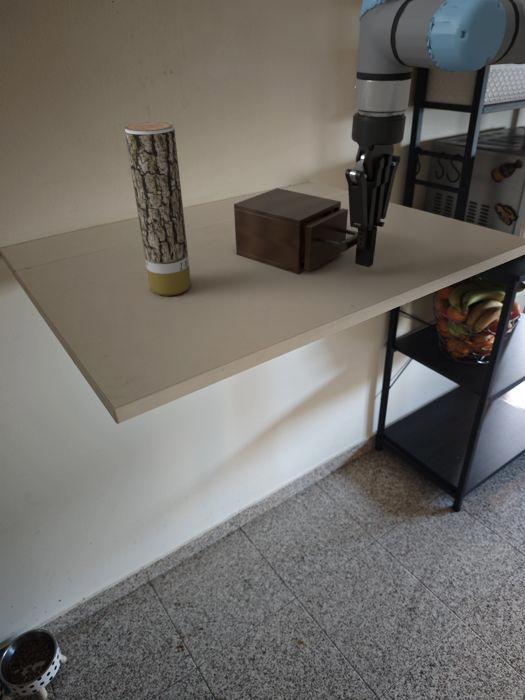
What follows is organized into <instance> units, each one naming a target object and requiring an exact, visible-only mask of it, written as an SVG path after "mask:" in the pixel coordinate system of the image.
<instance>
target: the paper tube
mask: <svg viewBox="0 0 525 700" xmlns="http://www.w3.org/2000/svg"><path fill="white" fill-rule="evenodd" d="M175 130H176V129H175V124H174V123H172V122H168V121H144V122H135V123H130V124H127V125H125V126H124V134H125V141H126V147H127V154H128V159H129V160H128V161H129V165H130V173H131V179H132V184H133V192H134V197H135V203H136V209H137V216H138V221H139V228H140V235H141V240H142V241H141V242H142V248H143V254H144V259H145V267H146V272H147V279H148V284H149V288H150V290H151V291H152V292H153V293H154V294H155V295H159V296H163V297H165V296H166V297H169V296H177V295H180V294H184V293H185V292H186V291H188V290H189V288H190V287H191V285H192V284H191V283H192V280H191V273H190V271H191V270H190V261H189V251H188V241H187V234H186V225H185V224H186V223H185V222H186V221H185V214H184V206H183V204H184V203H183V195H182V185H181V177H180V176H181V175H180V167H179V157H178V148H177V140H176V131H175Z"/></svg>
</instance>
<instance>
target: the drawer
mask: <svg viewBox="0 0 525 700" xmlns="http://www.w3.org/2000/svg"><path fill="white" fill-rule="evenodd" d="M348 215H349V208H342V207H341V209H340V210H338V211H336V212H334V209H333V210H331V211H329V212H327V213H324V217H323V218H321V219H319V220H317V221H315V222H313V223H311V224H309V225H307V226H306V228H305V253H303V241H304V223H303V224H302V247H301V264H302V263H304V269H305V271H308V272H310V271H312V270H314V269H316V268H318V267H319V266H321V265H323V264H324V263H326V262H328V261H330V260H332V259H333V258H335V257H336V256H338V255H340V254H342V253H344V252H346V251H348V250H350V249H352V248H354V247H356V244H357V233H358V231H355V230H352V229H348V219H349V218H348V217H349V216H348ZM347 235H350V236H349V237H348V238H347Z"/></svg>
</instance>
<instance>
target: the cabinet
mask: <svg viewBox="0 0 525 700" xmlns="http://www.w3.org/2000/svg"><path fill="white" fill-rule="evenodd" d="M341 206H342V201H341V200H335V199H332V198H326V197H321V196H316V195H312V194H307V193H302V192H297V191H294V190H288V189H284V188H279V187H276V188H274V189H271V190H268V191H265V192H262V193H260V194H258V195H255V196H252V197H249V198H246V199H244V200H241V201H239V202H236V203H233V215H234V233H235V234H234V235H235V236H234V237H235V254H236V255H238V256H241V257H243V258H246V259H250V260H253V261H255V262H258V263H262V264H266V265H269V266H271V267H274V268H278V269H281V270H284V271H287V272H290V273H293V274H296V275H300V274H301V273H303V272H305V271H306V270H305V269H304V263H302V264H301V247H302V224H303V223H305V222H307V221H309V220H312V219H314V218H316V217H318V216H320V215H322V214H324V213H327V212H329V211H331V210H333V209H334V212H336V211H338V210H340V209H342V207H341Z"/></svg>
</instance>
